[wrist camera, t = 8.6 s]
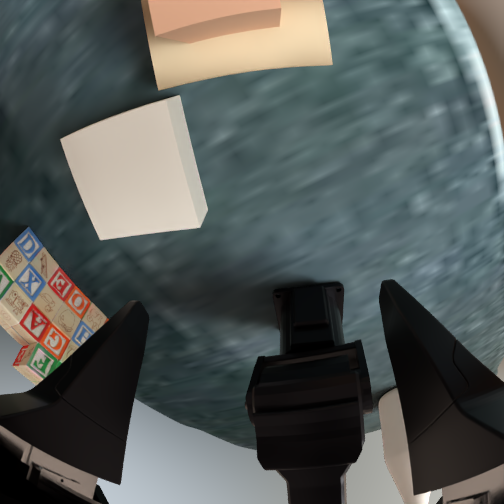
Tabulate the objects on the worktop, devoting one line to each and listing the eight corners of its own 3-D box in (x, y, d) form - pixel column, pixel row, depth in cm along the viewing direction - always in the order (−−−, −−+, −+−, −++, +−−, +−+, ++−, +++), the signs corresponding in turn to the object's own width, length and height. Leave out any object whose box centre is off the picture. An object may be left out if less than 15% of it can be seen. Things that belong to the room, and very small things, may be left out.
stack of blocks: (12, 242, 26) (-43, 309, 16) (29, 224, 24) (-37, 300, 14) (111, 350, 37) (83, 419, 27) (138, 346, 35) (110, 425, 25)
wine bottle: (371, 407, 43) (378, 552, 19) (386, 385, 37) (399, 558, 13) (415, 399, 41) (430, 537, 18) (436, 376, 36) (459, 536, 12)
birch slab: (324, 65, 15) (332, 64, 12) (175, 86, 16) (158, 90, 14) (300, -56, 9) (303, -74, 7) (153, -29, 11) (135, -40, 8)
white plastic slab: (209, 207, 22) (200, 227, 19) (115, 221, 23) (100, 240, 21) (181, 94, 17) (165, 99, 14) (82, 128, 18) (60, 139, 16)
